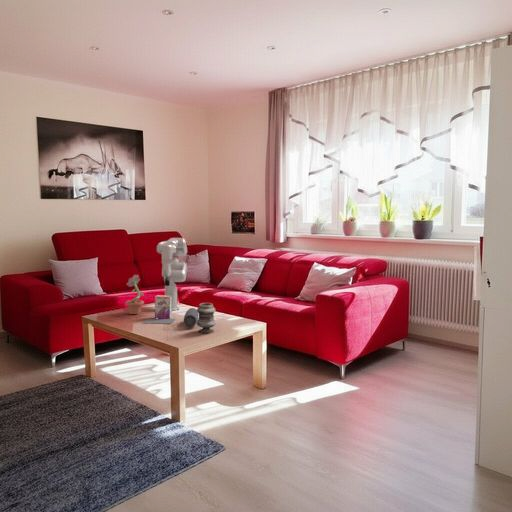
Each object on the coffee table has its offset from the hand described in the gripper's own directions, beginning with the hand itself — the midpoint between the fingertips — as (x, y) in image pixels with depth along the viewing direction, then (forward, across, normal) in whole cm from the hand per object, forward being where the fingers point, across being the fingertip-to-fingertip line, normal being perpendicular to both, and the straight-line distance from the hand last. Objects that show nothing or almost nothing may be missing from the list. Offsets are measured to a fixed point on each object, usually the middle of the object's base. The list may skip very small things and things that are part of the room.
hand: (167, 285), depth 339 cm
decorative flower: (+22, -1, -25) cm, 34 cm away
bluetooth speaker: (+22, +30, +24) cm, 44 cm away
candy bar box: (+22, +12, 0) cm, 25 cm away
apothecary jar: (+22, +47, +37) cm, 64 cm away
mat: (+22, +22, 0) cm, 31 cm away
